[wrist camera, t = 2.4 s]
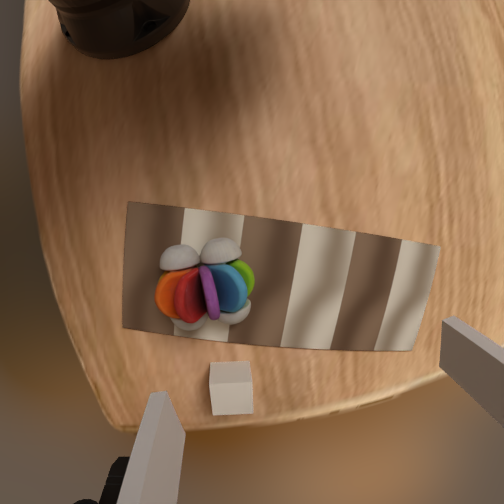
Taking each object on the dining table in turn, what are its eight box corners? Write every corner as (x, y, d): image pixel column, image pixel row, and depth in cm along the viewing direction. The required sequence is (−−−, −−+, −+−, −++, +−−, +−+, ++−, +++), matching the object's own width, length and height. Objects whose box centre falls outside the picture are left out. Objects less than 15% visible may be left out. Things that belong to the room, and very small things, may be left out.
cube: (213, 392, 37) (212, 415, 33) (210, 362, 36) (209, 383, 32) (250, 390, 37) (253, 413, 33) (249, 360, 37) (252, 381, 32)
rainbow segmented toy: (153, 246, 33) (134, 264, 25) (246, 231, 33) (252, 245, 26) (170, 321, 34) (157, 354, 27) (258, 309, 35) (265, 340, 28)
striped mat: (123, 326, 34) (122, 327, 34) (128, 201, 32) (128, 201, 31) (410, 349, 38) (411, 350, 38) (439, 246, 35) (440, 246, 35)
